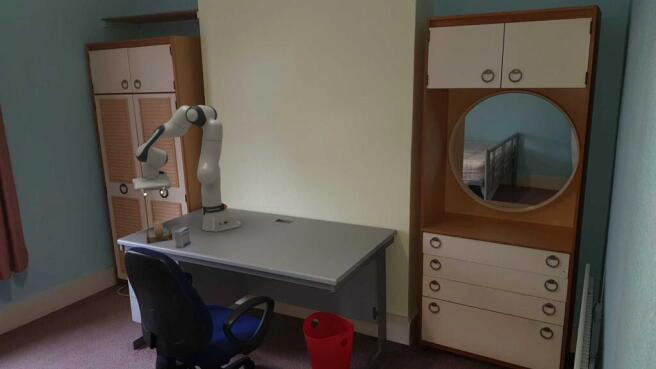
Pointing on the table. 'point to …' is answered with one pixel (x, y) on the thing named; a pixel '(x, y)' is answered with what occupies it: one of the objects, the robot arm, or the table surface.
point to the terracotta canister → (158, 228)
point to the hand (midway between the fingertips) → (153, 195)
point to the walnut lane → (159, 237)
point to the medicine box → (182, 237)
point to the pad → (163, 230)
